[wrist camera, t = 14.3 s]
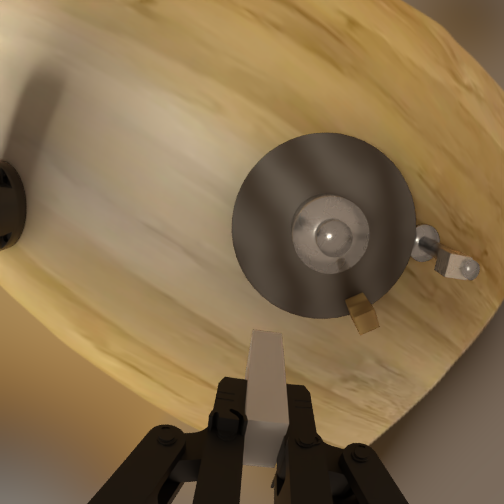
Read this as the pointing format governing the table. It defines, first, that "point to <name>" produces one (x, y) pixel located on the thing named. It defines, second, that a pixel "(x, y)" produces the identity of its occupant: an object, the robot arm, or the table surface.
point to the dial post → (442, 255)
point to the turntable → (297, 191)
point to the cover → (329, 233)
